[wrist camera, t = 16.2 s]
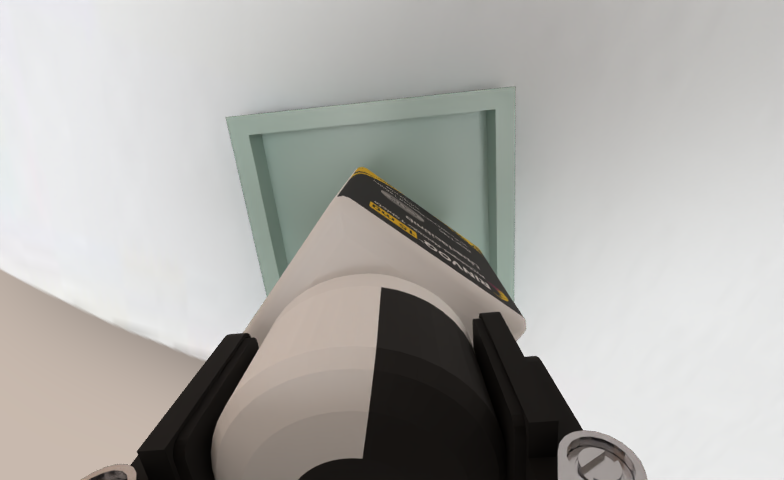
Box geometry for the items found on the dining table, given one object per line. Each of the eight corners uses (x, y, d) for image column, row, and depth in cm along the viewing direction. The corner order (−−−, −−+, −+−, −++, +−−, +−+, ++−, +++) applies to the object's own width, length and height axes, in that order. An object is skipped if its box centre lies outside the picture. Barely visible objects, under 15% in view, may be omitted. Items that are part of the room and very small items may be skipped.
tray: (502, 89, 21) (515, 86, 19) (503, 319, 26) (513, 340, 23) (244, 117, 22) (225, 117, 19) (291, 337, 26) (281, 358, 24)
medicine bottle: (482, 249, 18) (634, 477, 7) (396, 351, 20) (398, 667, 8) (360, 162, 17) (285, 259, 5) (281, 279, 19) (99, 538, 7)
